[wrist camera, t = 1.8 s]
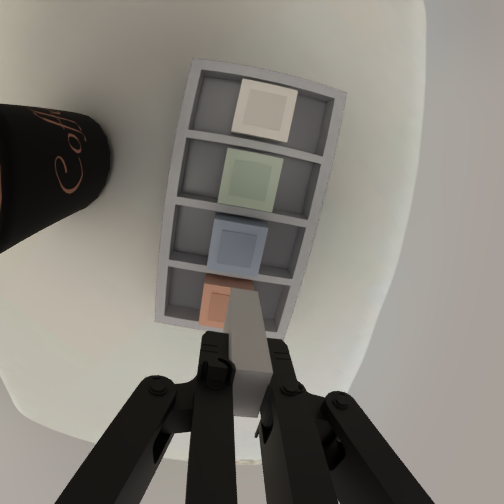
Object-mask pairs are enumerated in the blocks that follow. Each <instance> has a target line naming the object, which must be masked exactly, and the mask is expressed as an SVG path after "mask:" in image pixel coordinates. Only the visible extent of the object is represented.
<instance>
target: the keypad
mask: <svg viewBox="0 0 504 504" xmlns="http://www.w3.org/2000/svg"><path fill="white" fill-rule="evenodd" d="M242 79H248V80H253V81H258V82H263V83H268V84H272V85H277V86H281V87H285V88H289V89H293V90H297V91H298V94H297V99H296V103H295V108H294V113H293V118H292V122H291V127H290V132H289V136H288V141H287V143H280V142H275V141H271V140H266V139H261V138H256V137H251V136H246V135H241V134H235V133H231V129H232V124H233V120H234V115H235V110H236V106H237V101H238V97H239V92H240V88H241V83H242ZM346 94H347V92H345V91H342V90H339V89H336V88H333V87H330V86H326V85H323V84H320V83H317V82H313V81H310V80H306V79H302V78H299V77H295V76H291V75H287V74H283V73H279V72H274V71H270V70H265V69H260V68H255V67H250V66H245V65H239V64H233V63H227V62H220V61H213V60H205V59H196V58H193V59H192V63H191V67H190V71H189V75H188V79H187V83H186V87H185V92H184V96H183V101H182V105H181V110H180V115H179V119H178V124H177V130H176V135H175V140H174V146H173V151H172V157H171V163H170V169H169V175H168V182H167V189H166V196H165V204H164V211H163V220H162V228H161V238H160V248H159V259H158V271H157V285H156V302H155V322H158V323H163V324H169V325H174V326H180V327H186V328H192V329H198V330H204V331H214V332H221V333H223V329H222V328H215V327H208V326H202V325H198V324H199V317H200V309H201V302H202V295H203V288H204V282H205V276H206V273H211V274H217V275H223V276H230V277H236V278H242V279H249V280H253V287H254V291H257V292H258V295H259V300H260V305H261V311H262V316H263V321H264V327H265V332H266V338H275V339H282V340H283V341H284V338H285V335H286V332H287V329H288V325H289V322H290V319H291V316H292V313H293V309H294V306H295V303H296V299H297V296H298V293H299V289H300V286H301V282H302V279H303V276H304V272H305V268H306V265H307V261H308V258H309V254H310V251H311V247H312V243H313V239H314V236H315V232H316V228H317V224H318V220H319V216H320V212H321V208H322V204H323V200H324V196H325V192H326V188H327V184H328V180H329V175H330V171H331V167H332V162H333V158H334V153H335V149H336V144H337V139H338V135H339V130H340V125H341V120H342V115H343V110H344V105H345V99H346ZM228 148H232V149H238V150H243V151H248V152H254V153H259V154H263V155H268V156H273V157H278V158H282V159H284V160H283V164H282V169H281V174H280V178H279V183H278V187H277V192H276V196H275V201H274V205H273V210H272V212H266V211H261V210H256V209H250V208H245V207H239V206H234V205H228V204H222V203H217V202H218V196H219V191H220V185H221V180H222V174H223V169H224V164H225V159H226V154H227V149H228ZM216 213H220V214H225V215H231V216H237V217H242V218H248V219H254V220H259V221H265V222H266V224H267V226H268V232H267V237H266V241H265V246H264V250H263V255H262V259H261V264H260V268H259V272H258V277H251V276H245V275H238V274H232V273H226V272H220V271H214V270H208V269H206V268H207V261H208V255H209V249H210V243H211V237H212V231H213V225H214V219H215V215H216Z"/></svg>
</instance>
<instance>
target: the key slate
mask: <svg viewBox="0 0 504 504" xmlns="http://www.w3.org/2000/svg"><path fill="white" fill-rule="evenodd" d="M267 232H268V226H267V224H266V222H265V221H259V220H254V219H248V218H242V217H237V216H231V215H225V214H220V213H216V215H215V219H214V225H213V231H212V237H211V243H210V249H209V255H208V261H207V268H206V269H208V270H214V271H220V272H226V273H232V274H238V275H245V276H251V277H258V272H259V268H260V264H261V259H262V255H263V250H264V246H265V241H266V237H267Z"/></svg>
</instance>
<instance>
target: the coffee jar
mask: <svg viewBox="0 0 504 504" xmlns="http://www.w3.org/2000/svg"><path fill="white" fill-rule="evenodd" d="M109 170H110V149H109V145H108V141H107V137H106V135H105V134H104V132H103V130H102V129H101V127H100V125H99V124H98V123H96V122H95V121H94V120H93V119H91V118H90V117H89V116H86V115H82V114H78V113H74V112H67V111H61V110H54V109H47V108H39V107H30V106H21V105H10V104H0V253H2V252H4V251H6V250H7V249H9V248H11V247H12V246H14V245H16V244H17V243H19V242H21V241H23V240H24V239H26V238H28V237H30V236H31V235H33V234H35V233H37V232H39V231H40V230H42V229H44V228H46V227H48V226H50V225H52V224H54V223H56V222H57V221H59V220H61V219H63V218H65V217H67V216H69V215H71V214H73V213H75V212H77V211H80V210H82V209H84V208H86V207H87V206H88V205H89V204H91V203H92V202H93V201H94V200H95V199H96V198H97V197H98V195H99V194H100V192H101V191H102V189H103V187H104V186H105V183H106V180H107V176H108V173H109Z"/></svg>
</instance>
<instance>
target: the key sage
mask: <svg viewBox="0 0 504 504" xmlns="http://www.w3.org/2000/svg"><path fill="white" fill-rule="evenodd" d="M283 160H284V159H282V158H278V157H273V156H268V155H263V154H259V153H254V152H248V151H243V150H238V149H232V148H228V149H227V154H226V159H225V164H224V169H223V174H222V180H221V185H220V191H219V196H218V202H217V203H222V204H228V205H234V206H239V207H245V208H250V209H256V210H261V211H266V212H272V210H273V205H274V201H275V196H276V192H277V187H278V183H279V178H280V174H281V169H282V164H283Z"/></svg>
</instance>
